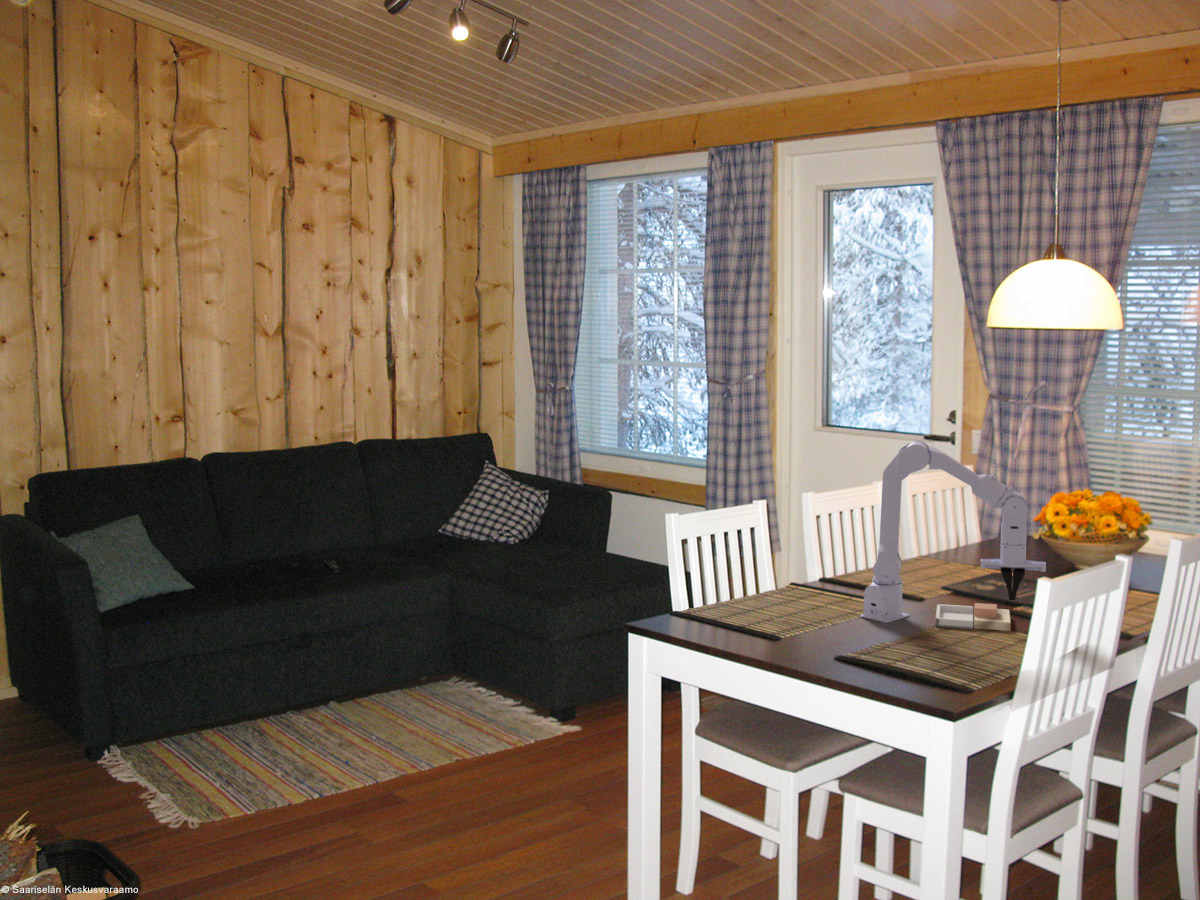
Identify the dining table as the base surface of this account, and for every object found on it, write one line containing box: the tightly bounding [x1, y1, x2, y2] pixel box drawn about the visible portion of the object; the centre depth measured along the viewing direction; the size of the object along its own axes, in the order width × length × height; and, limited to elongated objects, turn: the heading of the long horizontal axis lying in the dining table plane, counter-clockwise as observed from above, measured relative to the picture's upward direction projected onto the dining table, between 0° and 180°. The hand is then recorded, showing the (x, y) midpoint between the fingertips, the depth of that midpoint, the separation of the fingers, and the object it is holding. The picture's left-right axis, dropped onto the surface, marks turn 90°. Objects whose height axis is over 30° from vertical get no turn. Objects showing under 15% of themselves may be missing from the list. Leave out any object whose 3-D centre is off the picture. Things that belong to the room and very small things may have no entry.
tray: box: [935, 603, 974, 630], centre depth 269 cm, size 8×14×2 cm, turn 162°
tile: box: [973, 602, 998, 618], centre depth 266 cm, size 5×5×2 cm
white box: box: [973, 606, 1012, 632], centre depth 266 cm, size 8×12×2 cm, turn 162°
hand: (1011, 599), depth 264 cm, fingers closed
